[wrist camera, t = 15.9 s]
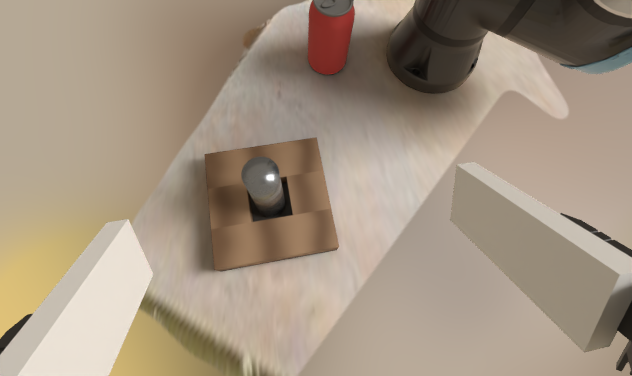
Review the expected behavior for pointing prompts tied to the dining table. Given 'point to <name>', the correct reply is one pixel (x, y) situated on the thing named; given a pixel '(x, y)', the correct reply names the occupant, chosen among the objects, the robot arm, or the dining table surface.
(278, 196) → the steel pin
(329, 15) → the beer can
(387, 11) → the dining table surface
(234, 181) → the socket block
